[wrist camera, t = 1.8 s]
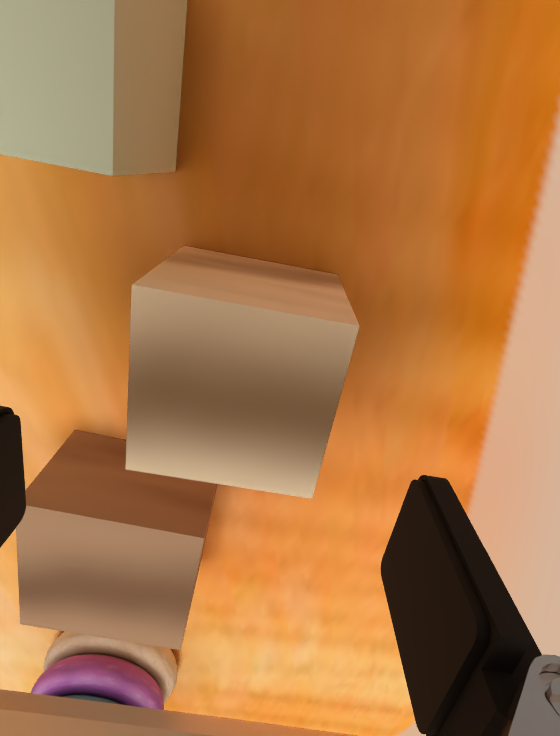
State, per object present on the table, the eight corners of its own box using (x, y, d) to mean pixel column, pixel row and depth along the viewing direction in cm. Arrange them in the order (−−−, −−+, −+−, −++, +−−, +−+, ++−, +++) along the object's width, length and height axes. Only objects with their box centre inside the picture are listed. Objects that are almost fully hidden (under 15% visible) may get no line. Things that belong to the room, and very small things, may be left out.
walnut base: (76, 427, 20) (15, 503, 16) (222, 457, 21) (204, 538, 16) (73, 534, 23) (20, 624, 19) (201, 557, 24) (180, 650, 19)
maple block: (184, 245, 16) (131, 284, 11) (337, 274, 17) (359, 325, 11) (172, 382, 19) (125, 469, 14) (306, 404, 19) (312, 498, 14)
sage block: (22, -41, 13) (-173, -190, 8) (188, -5, 13) (116, -122, 8) (33, 144, 15) (-112, 132, 10) (175, 171, 15) (112, 175, 10)
